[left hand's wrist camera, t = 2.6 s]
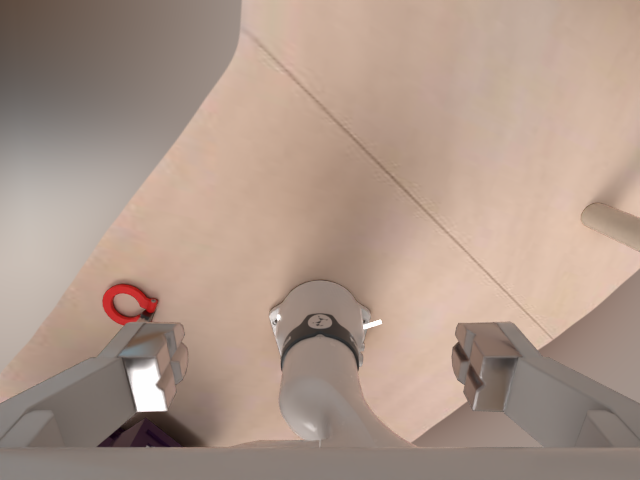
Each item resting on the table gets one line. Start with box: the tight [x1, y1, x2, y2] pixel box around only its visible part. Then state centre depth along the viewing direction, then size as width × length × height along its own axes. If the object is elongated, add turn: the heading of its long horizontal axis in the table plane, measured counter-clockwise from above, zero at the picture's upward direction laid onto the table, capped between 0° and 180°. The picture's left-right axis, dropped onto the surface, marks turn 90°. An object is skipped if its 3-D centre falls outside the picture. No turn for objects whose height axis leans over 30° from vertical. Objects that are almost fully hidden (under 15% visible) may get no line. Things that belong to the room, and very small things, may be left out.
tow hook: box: [103, 284, 158, 325], centre depth 60 cm, size 8×13×9 cm
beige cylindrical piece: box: [581, 203, 640, 252], centre depth 52 cm, size 4×4×16 cm
